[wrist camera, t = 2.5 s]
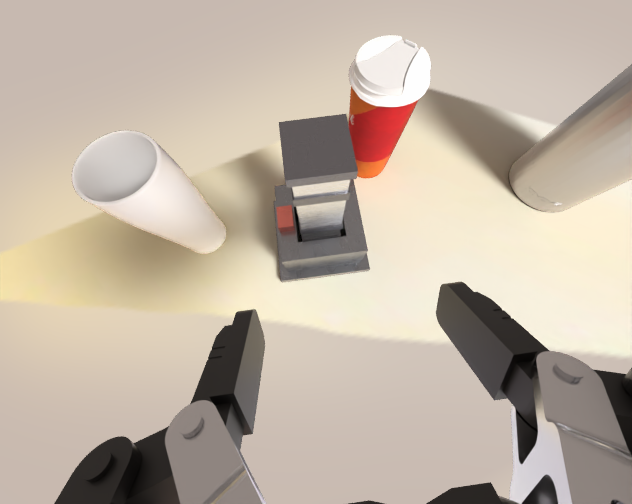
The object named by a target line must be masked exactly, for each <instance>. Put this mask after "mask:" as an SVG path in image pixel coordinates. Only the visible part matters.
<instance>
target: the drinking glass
mask: <svg viewBox="0 0 632 504" xmlns="http://www.w3.org/2000/svg"><path fill="white" fill-rule="evenodd" d="M72 184H73V187H74V189H75V191H76V192H77V194H78V195H79V196H80V197H81V198H82V199H83V200H85V201H86V202H88V203H90V204H92V205H94V206H95V207H97V208H99V209H100V210H102V211H104V212H106V213H107V214H109V215H111V216H113V217H115V218H117V219H119V220H121V221H123V222H125V223H127V224H129V225H132V226H134V227H136V228H139V229H141V230H144V231H146V232H149V233H151V234H154V235H156V236H159V237H162V238H164V239H167V240H169V241H172V242H174V243H177V244H179V245H182V246H184V247H187V248H189V249H191V250H192V251H194V252H197V253H201V254H206V253H211V252H213V251H215V250H217V249H218V248H219V247H220V246H221V245H222V244H223V243H224V241H225V238H226V228H225V225H224V223H223V222H222V221H221V220H220V219H219V218H218V217H217V215H216V214H215V213H214V211H213V210H212V209H211V207H210V206H209V205H208V203H207V202H206V201H205V199H204V198H203V197H202V195H201V194H200V192H199V191H198V190H197V188H196V187H195V186H194V184H193V183H192V182H191V180H190V179H189V178H188V176H187V175H186V174H185V172H184V171H183V170H182V169H181V168H180V167H179V166H178V164H177V163H176V162H175V161H174V160H173V159H172V158H171V157H170V156H169V155H168V154H167V153H166V152H165V151H164V150H163V149H162V148H161V147H160V146H159V145H158V144H157V143H156V142H155V141H154V140H153V139H152V138H151V137H149V136H148V135H146V134H144V133H141V132H138V131H132V130H122V131H116V132H112V133H109V134H106V135H103V136H101V137H99V138H98V139H96V140H94V141H93V142H92V143H90V144H89V145H88V146H87V147H86V148H85V149H84V150H83V151H82V152H81V153H80V155H79V156H78V158H77V160H76V162H75V164H74V167H73V170H72Z"/></svg>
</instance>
